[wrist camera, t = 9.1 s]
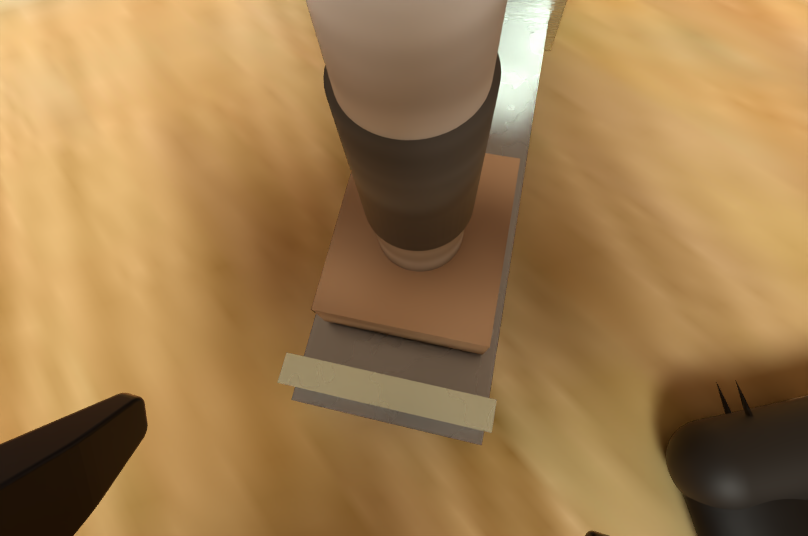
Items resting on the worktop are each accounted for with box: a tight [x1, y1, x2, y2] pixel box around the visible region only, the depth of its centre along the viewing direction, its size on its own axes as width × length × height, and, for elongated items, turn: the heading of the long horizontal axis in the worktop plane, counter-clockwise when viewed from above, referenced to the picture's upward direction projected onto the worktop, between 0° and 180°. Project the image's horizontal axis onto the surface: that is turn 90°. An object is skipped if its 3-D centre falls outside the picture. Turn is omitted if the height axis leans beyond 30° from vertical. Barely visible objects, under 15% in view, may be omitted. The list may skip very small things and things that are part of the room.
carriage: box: [306, 0, 520, 355], centre depth 11 cm, size 7×6×12 cm
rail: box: [278, 0, 567, 445], centre depth 17 cm, size 22×9×8 cm, turn 167°
